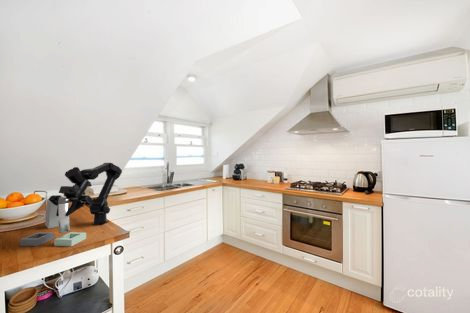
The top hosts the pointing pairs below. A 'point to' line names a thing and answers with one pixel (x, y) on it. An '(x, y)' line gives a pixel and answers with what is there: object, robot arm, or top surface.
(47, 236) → the charcoal socket
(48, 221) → the skincare box
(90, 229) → the top surface
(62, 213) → the steel peg
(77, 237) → the sage socket
